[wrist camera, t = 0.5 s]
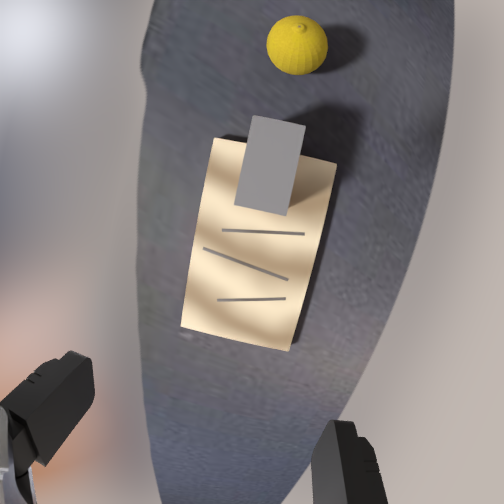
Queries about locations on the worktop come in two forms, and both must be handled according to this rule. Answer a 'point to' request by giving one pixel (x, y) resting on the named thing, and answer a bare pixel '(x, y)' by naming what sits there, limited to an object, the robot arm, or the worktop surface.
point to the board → (253, 253)
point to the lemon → (297, 45)
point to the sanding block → (269, 165)
